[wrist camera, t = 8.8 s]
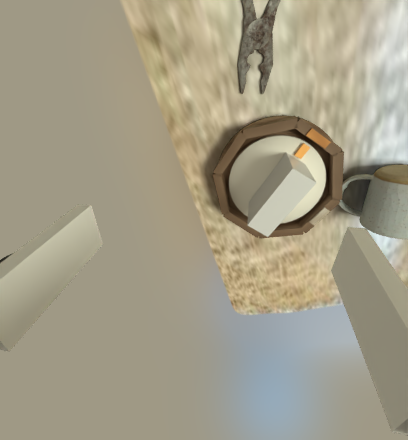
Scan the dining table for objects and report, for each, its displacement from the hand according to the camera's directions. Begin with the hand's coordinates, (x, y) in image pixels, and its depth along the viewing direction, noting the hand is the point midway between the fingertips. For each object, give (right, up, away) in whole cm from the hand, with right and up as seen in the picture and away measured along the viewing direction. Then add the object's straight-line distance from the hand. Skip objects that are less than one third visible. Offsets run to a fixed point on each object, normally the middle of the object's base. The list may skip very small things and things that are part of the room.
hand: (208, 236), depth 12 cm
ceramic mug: (+25, +5, +23) cm, 34 cm away
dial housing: (+11, +7, +24) cm, 27 cm away
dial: (+10, +7, +23) cm, 26 cm away
